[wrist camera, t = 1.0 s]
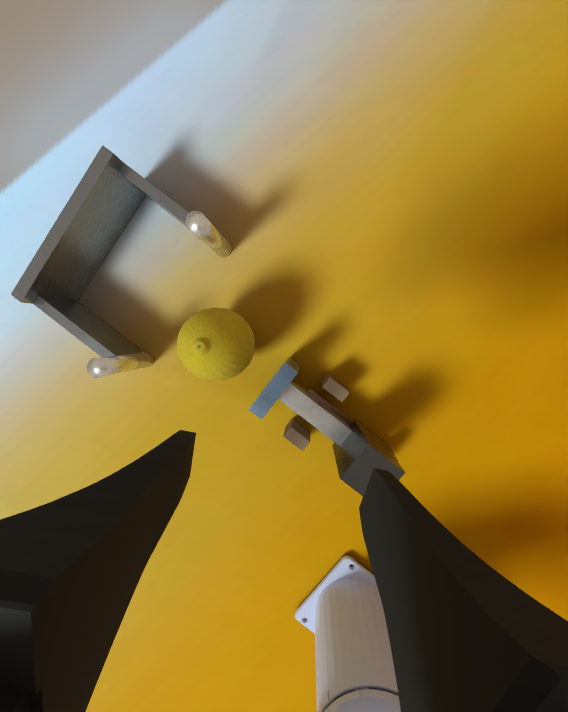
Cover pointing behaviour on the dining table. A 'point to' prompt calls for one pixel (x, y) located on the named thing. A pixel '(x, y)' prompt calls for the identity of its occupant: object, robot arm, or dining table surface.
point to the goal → (98, 256)
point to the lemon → (216, 344)
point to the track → (338, 390)
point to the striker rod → (331, 430)
